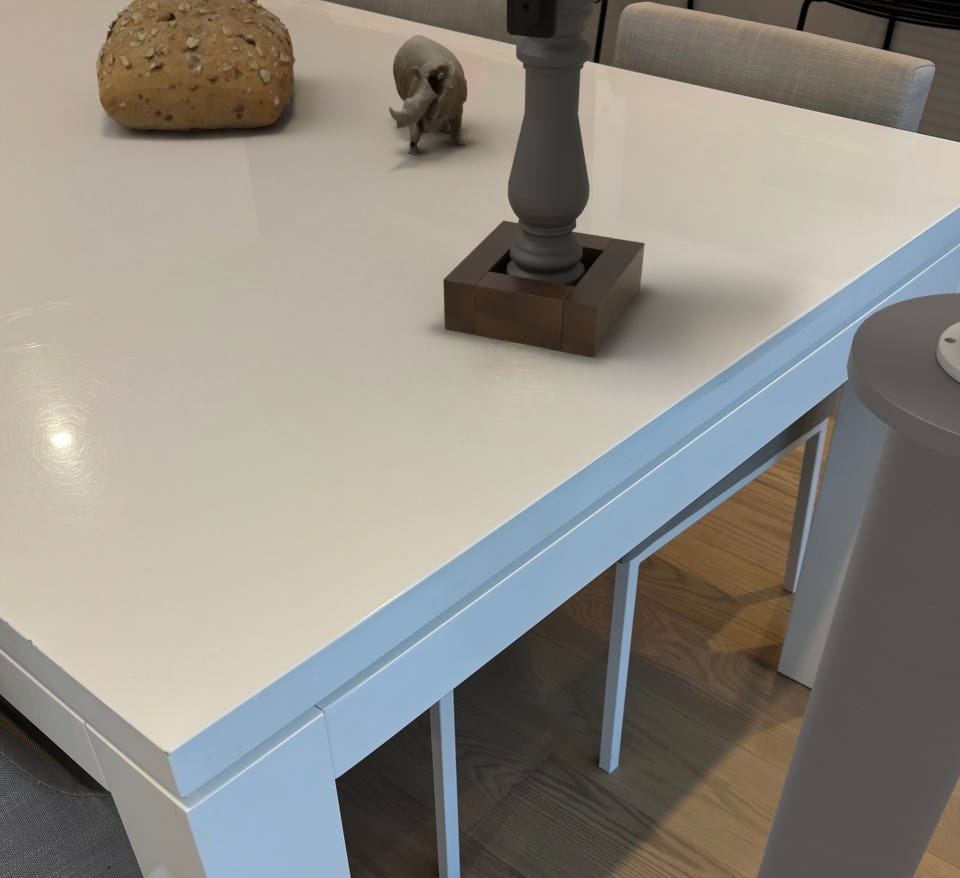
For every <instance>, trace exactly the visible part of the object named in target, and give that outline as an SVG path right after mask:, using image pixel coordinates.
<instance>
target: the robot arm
mask: <svg viewBox="0 0 960 878" xmlns="http://www.w3.org/2000/svg"><path fill="white" fill-rule="evenodd" d="M601 1H602V0H597V1H596V2H595V3H594V5H595V4H599V3H601ZM556 24H557V0H506V31H507V33H508V34H509V35H511V36H516V37H517V36H519V37H526V36H527V37H537V38H546V39H549V38H551V37H553V36H554V35H555V33H556ZM936 355H937V359H938V361H939V363H940V365H941V367H942V368H943V369H944V370H945V371H946V372H947V374H948V375H950V376H951V377H952V378H954V379H955V380H956V381H957V382H959V383H960V322H958V323H956V324H954V325H952V326H950V327H949V328H947V329H946V330H945V331H944V332H943V333H942V335H941V337H940V339H939V342H938V346H937V349H936Z"/></svg>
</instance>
